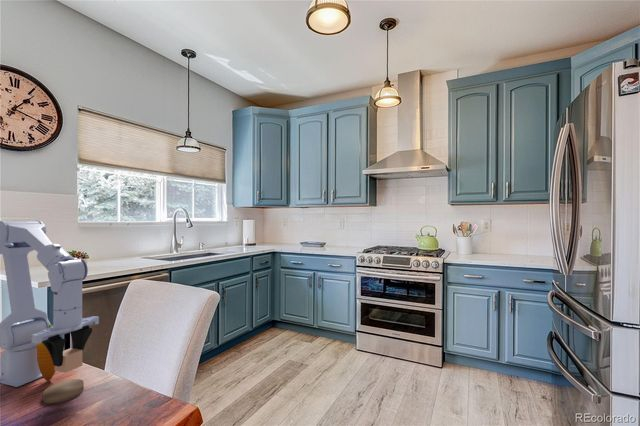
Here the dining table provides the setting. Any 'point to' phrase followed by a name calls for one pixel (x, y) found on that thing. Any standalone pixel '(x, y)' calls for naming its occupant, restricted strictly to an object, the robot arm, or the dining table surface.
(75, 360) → the tan block
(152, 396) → the dining table surface
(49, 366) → the carrot
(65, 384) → the olive round dish
